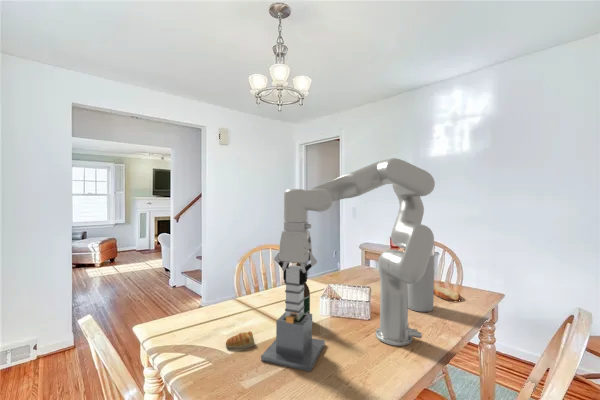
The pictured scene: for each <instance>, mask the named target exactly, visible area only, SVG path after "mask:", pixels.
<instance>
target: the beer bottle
mask: <svg viewBox="0 0 600 400" xmlns="http://www.w3.org/2000/svg"><path fill="white" fill-rule="evenodd" d="M295 264H296V265H295V266H301V264H300V263H295ZM304 288H305V290H304V298H305V300H304V313H309V314H311V313H310V312H311V307H310V306H311V291H310V288H309V286H308V284H307V282H306V283H305V284H304Z"/></svg>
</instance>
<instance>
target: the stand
mask: <svg viewBox="0 0 600 400" xmlns="http://www.w3.org/2000/svg"><path fill="white" fill-rule="evenodd" d="M285 316H286V311H285V312H284V313H283V314H282V315H281V316H280V317H279V318H278V319H277V320H276V323H275V324H276V328H275V329H276V330H275V331H276V335H275V336H276V338H275V339H274V340H273V342H272V343H271V344H270V345H269V347H268V348H267V349H265V351H264V352H263V353H262V354H261V355H260V360H261V361H262V362H266V363H269V364H274V365H279V366H282V367H283V366H284V367H286V368H292V369H295V370H299V371H304V372H309V373H311V372H312V370H313V368H314V367H315V364H316V362H317V360H318V359H319V356H320V354H322V351H323V349H324V348H325V345H326V341H325V340H324V339H318V338H315V337H313V313H310V314H309V313H304V319H303V320H302V321H301V322H295V317H292V316H287V317H286V319H285Z"/></svg>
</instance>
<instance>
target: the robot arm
mask: <svg viewBox="0 0 600 400" xmlns="http://www.w3.org/2000/svg"><path fill="white" fill-rule="evenodd" d="M385 185H391V186H392V190H393V192H394V193H395V194H396V197H397V199H398V202H399V210H398V212H397V213H398V214H397V216H396V219H395V220H394V221H395V222H394V224H393V228H392V230H391V234H390V240H391V242H392V244H394V246H397V247H398V248H402V249H405V250H404V251H401V250H398V249H392V248H391V249H385V250H384V251H383V252H382V253H380V255H379V257H378V262H377V265H378V267H377V268H378V273H379V279H380V280H379V281H380V283H379V284H380V294H379V295H380V296H379V297H380V299H379V300H380V306H379V307H380V308H379V309H380V310H379V327H378V328H376V330H375V337H376V338H377V340H379V341H381V342H382V343H385V344H388V345H391V346H397V347H398V346H399V347H402V346H407V345H409V344H412V342H413V337H414V338H417V339H422V337H423V336H422V335H423V334H422V332H421V331H418V329H417V328H411V327H409V325H410V324H409V321H408V319H409V317H408V316H409V308H408V285H407V284H416V283H418V282H419V281H420V280H421V279H422V277H423V276H424V273H425V271H426V268H427V265H428V262H429V259H430V256H431V253H432V252H433V249H434V245H435V236H434V233H433V231H432V230H431V228H430V227H429V226H428V225H425V224H423V223H422V221H423V218H424V213H425V207H424V203H423V201H422V199H421V197H426V196H428V195H431V193H432V192H433V191H434V189H435V186H436V183H435V179H434V177H433V175H432V174H431V173H429V171H428V170H427V171H426V170H425V169H423V168H421V167H418V166H416V165H414V164H412V163H410V162H409V161H406V160H402V159H400V158H398V157H397V158H394V157H393V158H389V159H387V158H386V159H383V160H380V161H376V162H374V163H371V164H369V165H366V166H364V167H362V168H359V169H357V170H354V171H351V172H349V173H346V174H344V175H341V176H339V177H337V178H335V179H331V180H329V181H327V182H324V183H321V184H318V185H317V186H314V187H312V188H310V189H301V188H288V189H286V190H285V191H284V194H283V230H282V231H281V236H280V241H279V250H278V251H279V252H278V253H277V254H276V255H275V257H274V258H273V260H274V261H275V262H276V263H277V264H278V265H279V267H280V268H281V270H282V271H283V272H282V273H283V277H282V278H283V281H284V284H285V282H286V268H288V267H289V266H290V264H291V263H293V264H297V263H300V264H301V268H302V272H301V285H304V284H305V283H306V284H307V282H308V271H309V270H310V269H311V268H312V267H314V266H315V265H316V264H317V263H318V260H317V259H316V257H315V256H314V254H313V247H312V246H313V245H312V236H311V232H310V231H309V229H312V224H311V223H310V224H309V223H308V211H310V212H311V211H312V212H317V213H323V212H326V211H328V210H329V209H331V207H332V206H333V205H334V204H333V203H334V202H336V201H340V200H346V199H353V198H356V197H359V196H362V195H364V194H367V193H369V192H371V191H373V190H375V189H378V188H380V187H382V186H385ZM309 262H310V263H309Z"/></svg>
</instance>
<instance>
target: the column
mask: <svg viewBox="0 0 600 400" xmlns="http://www.w3.org/2000/svg"><path fill="white" fill-rule="evenodd" d="M301 272H302V268H301V266H296V265H289V267H288V268H286V282H285V283H284V285H285V290H284V293H285V301H284V303H285V309H284V311H285V312H286V316H285V319H286V317H287V316H292V317H295V322H301V321H302V320H303V319H304V300H305V298H304V290H305V288H304V285H301Z"/></svg>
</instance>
